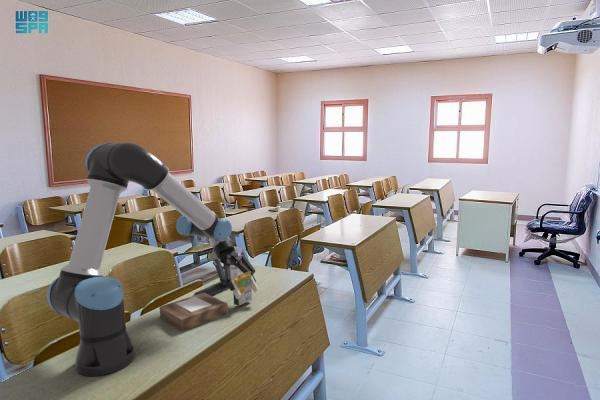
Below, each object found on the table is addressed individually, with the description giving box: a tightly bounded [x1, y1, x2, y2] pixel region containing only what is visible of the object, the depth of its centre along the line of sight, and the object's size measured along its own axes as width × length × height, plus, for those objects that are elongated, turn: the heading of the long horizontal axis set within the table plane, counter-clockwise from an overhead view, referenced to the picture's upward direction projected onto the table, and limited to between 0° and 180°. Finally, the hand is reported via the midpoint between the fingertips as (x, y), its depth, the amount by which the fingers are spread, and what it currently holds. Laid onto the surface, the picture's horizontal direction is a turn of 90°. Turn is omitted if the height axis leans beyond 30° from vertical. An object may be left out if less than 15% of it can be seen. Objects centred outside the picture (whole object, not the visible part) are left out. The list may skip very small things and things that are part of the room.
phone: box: [193, 282, 230, 297], centre depth 165 cm, size 8×1×15 cm
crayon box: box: [232, 271, 253, 307], centre depth 150 cm, size 7×3×12 cm, turn 144°
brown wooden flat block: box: [159, 293, 229, 332], centre depth 141 cm, size 18×16×4 cm
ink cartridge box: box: [230, 245, 245, 281], centre depth 178 cm, size 9×5×15 cm, turn 47°
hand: (248, 293), depth 147 cm, fingers closed on crayon box, 7 cm apart
